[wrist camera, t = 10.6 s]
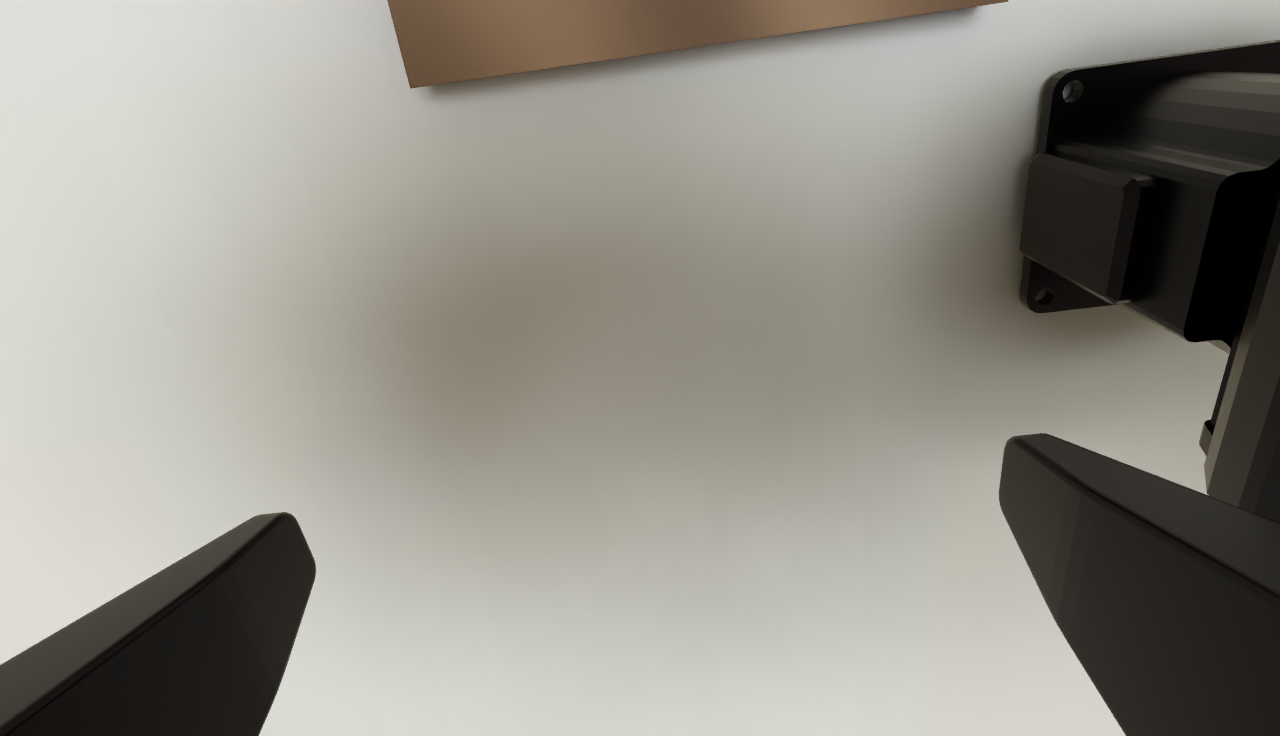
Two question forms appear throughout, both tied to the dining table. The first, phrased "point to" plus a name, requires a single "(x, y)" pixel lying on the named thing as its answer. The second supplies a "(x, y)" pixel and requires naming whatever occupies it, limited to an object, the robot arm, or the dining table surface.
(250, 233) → the dining table surface
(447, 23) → the brown piece
